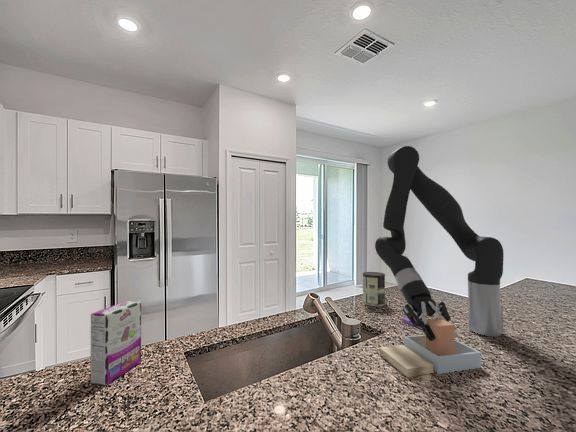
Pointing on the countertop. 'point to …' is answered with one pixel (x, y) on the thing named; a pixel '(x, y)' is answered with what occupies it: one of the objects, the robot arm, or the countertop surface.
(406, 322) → the sponges
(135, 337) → the candy bar box
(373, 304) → the coffee can
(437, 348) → the terracotta box
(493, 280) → the robot arm
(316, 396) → the countertop surface
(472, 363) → the square frame
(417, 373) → the block
